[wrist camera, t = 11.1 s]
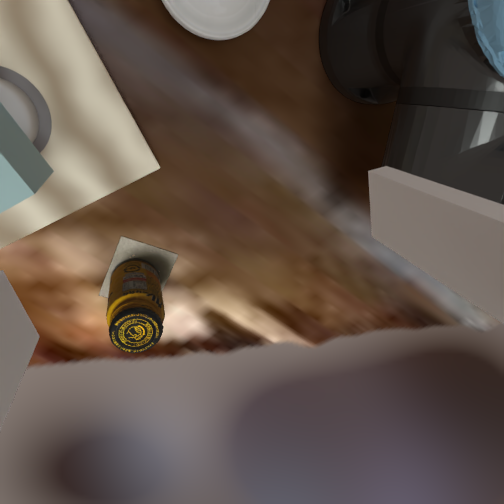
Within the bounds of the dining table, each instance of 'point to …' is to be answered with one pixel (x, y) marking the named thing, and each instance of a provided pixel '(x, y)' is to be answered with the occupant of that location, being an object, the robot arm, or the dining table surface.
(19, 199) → the teal block on base
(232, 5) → the ramekin
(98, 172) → the post base
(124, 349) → the condiment
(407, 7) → the robot arm
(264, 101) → the dining table surface
